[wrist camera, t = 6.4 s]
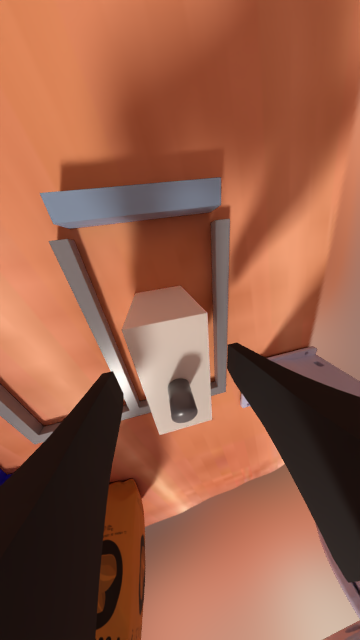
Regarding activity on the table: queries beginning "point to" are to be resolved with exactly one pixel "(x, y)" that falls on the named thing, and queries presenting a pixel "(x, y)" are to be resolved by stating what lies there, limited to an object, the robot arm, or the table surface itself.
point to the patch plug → (171, 356)
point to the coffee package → (122, 565)
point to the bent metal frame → (87, 299)
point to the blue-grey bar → (132, 202)
